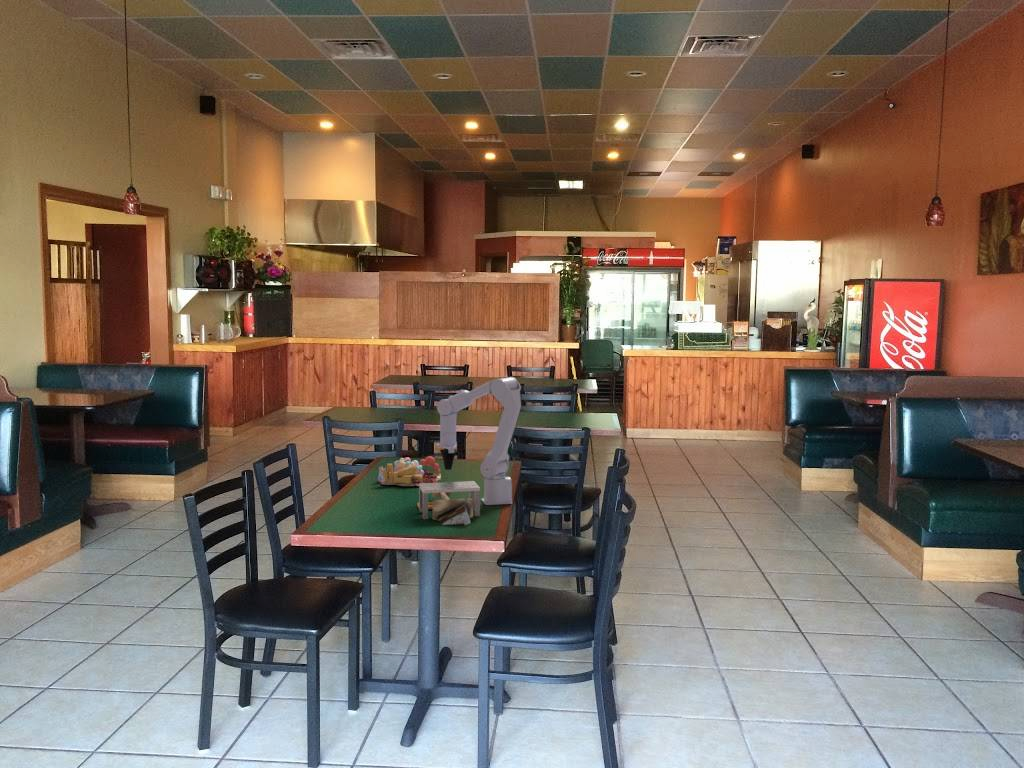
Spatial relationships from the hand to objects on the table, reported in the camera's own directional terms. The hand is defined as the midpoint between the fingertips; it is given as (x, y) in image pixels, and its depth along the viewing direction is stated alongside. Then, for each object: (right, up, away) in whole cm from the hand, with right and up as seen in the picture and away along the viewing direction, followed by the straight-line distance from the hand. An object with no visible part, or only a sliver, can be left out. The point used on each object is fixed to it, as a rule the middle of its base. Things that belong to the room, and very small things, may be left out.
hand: (448, 469), depth 293 cm
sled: (+1, -11, -21) cm, 23 cm away
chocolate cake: (+5, -14, -36) cm, 39 cm away
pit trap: (0, -11, -16) cm, 20 cm away
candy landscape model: (-17, -7, +24) cm, 30 cm away
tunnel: (+2, -12, -25) cm, 28 cm away
